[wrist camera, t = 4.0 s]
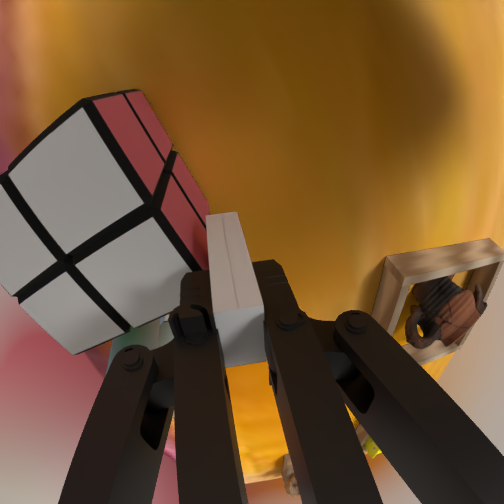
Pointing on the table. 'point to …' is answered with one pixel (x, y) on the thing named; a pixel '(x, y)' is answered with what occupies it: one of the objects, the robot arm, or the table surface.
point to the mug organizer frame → (427, 268)
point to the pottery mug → (442, 312)
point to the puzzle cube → (100, 222)
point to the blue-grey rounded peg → (137, 338)
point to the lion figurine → (292, 486)
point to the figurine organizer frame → (287, 468)
